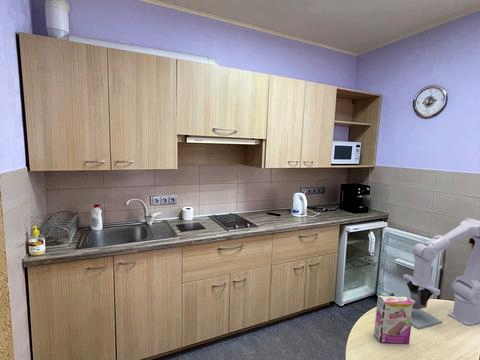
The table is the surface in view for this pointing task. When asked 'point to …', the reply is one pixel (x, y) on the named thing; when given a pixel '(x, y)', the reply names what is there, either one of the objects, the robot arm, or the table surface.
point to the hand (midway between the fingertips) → (418, 302)
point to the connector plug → (417, 299)
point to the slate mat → (423, 319)
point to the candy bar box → (393, 319)
